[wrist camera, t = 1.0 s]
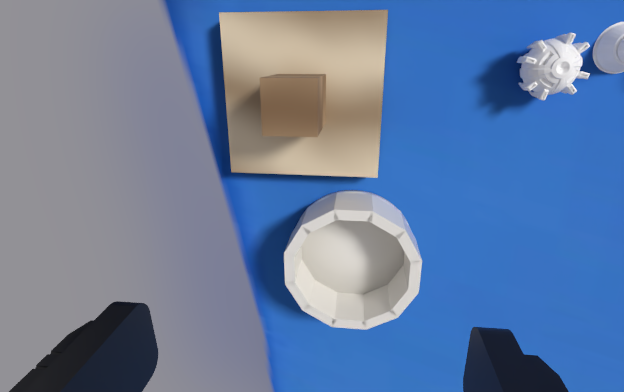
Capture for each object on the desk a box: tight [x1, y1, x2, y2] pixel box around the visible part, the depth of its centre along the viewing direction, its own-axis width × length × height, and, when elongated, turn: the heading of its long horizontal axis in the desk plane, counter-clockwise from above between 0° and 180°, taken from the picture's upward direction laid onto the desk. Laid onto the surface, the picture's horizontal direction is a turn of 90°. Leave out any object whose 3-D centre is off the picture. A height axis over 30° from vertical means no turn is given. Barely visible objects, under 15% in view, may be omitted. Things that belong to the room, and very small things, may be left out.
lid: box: [219, 10, 388, 178], centre depth 22 cm, size 10×10×6 cm
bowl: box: [284, 190, 422, 329], centre depth 27 cm, size 9×9×4 cm
